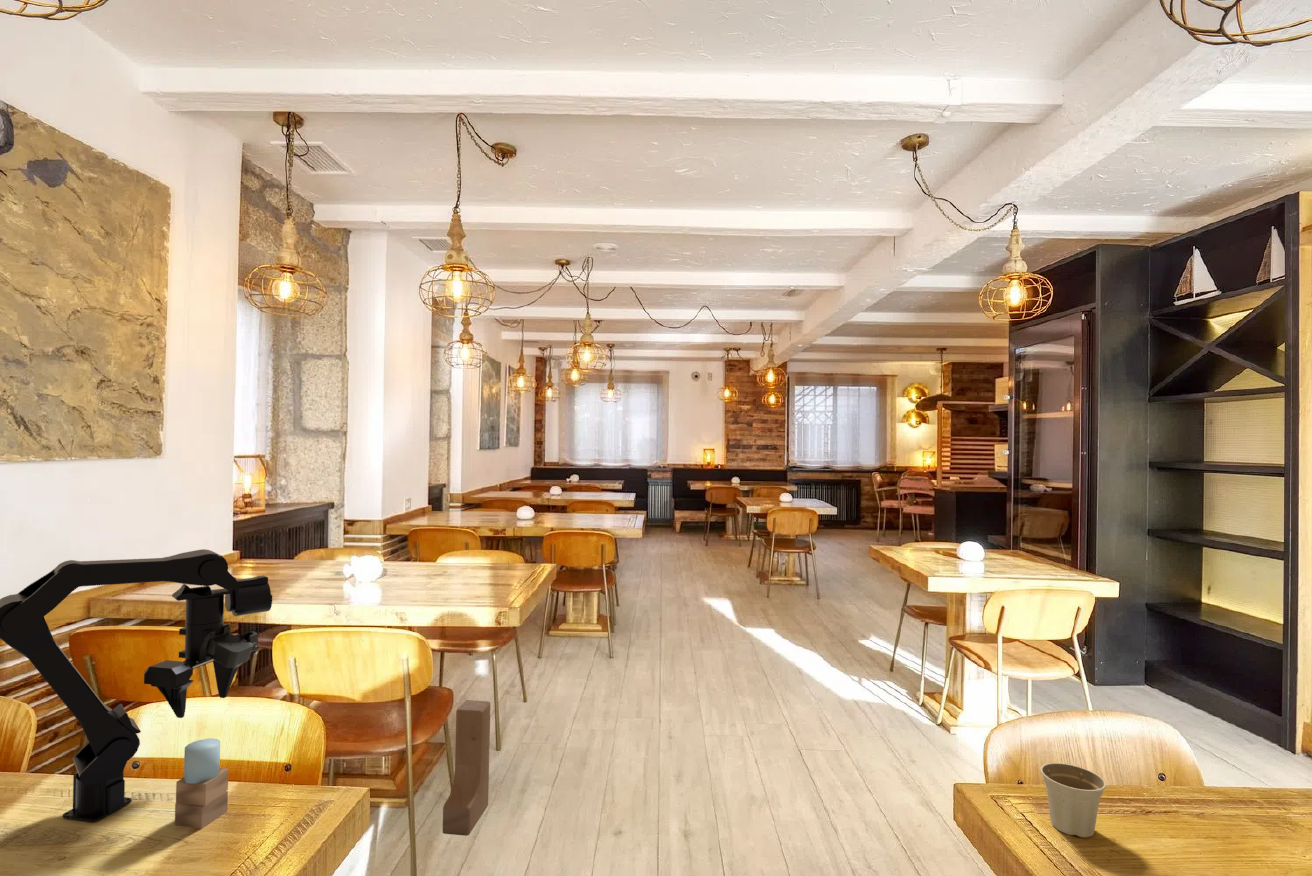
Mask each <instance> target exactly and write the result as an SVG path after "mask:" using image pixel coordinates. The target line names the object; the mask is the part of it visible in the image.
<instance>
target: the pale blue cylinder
mask: <svg viewBox="0 0 1312 876" xmlns="http://www.w3.org/2000/svg"><path fill="white" fill-rule="evenodd" d="M183 760H184V762H183V765H184V766H183V777H184V781H185V782H186V783H191V784H195V783H202V782H205V781H209V780H211V779H213V778H215V777H216V776H218V774H219V772H220V768H221V766H220V765H221V764H220V762H221V740H220V739H218V738H203V739H198V740H195V741H193V742H190V743H188V744H187V745H186V746H185V747H184V757H183Z"/></svg>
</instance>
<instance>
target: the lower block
mask: <svg viewBox="0 0 1312 876" xmlns="http://www.w3.org/2000/svg"><path fill="white" fill-rule="evenodd" d="M228 793H229V791H228V790H227V791H225V792H224V793H223V794H221V795H220V796H219V797H217V798H216V799H214V800H213V801H212V802H210V803H209V804H208V805H206V806H198V805H184V804H176V802H175V805H174V806H175V807H174V825H175V826H178V827H184V828H185V827H187V828H194V829H200V830H202V829H205V827H207V826H208V825H210V824H211V823H213V822H215V820H218V819H219V818H220V817H222V816H224V815H225V814H226V813H228V800H229V799H228V798H229V795H228Z"/></svg>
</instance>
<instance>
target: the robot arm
mask: <svg viewBox="0 0 1312 876" xmlns="http://www.w3.org/2000/svg"><path fill="white" fill-rule="evenodd" d="M228 564H229V563H228V561H227V559H226V558H225V557H223V556H222V555H221V554H218V553H217V552H215V551H213V550H210V549H205V548H203V549H197V550H192V551H191V550H190V551H185V552H181V553H177V554H174V555H170V556H165V557H155V558H154V557H153V558H130V559H129V558H128V559H107V560H106V559H105V560H101V559H99V560H82V561H81V560H76V559H75V560H73V559H70V560H64V561H63V562H60V563H59V564H57V566H56V567H54V568H53V569H52V570H50V571H49V572H47V574H45V575H43V576H41V577H40V578H38V579H36V580H35V581H34V582H32V583H30V584H29V585H27V586H26V587H25V588H23V589H21V590H20V591H19V592H18V593H15V594H9V595H6V596H4V597H2V598H0V640H1V641H3V642H4V643H5V644H6V645H8V646H9V647H10V648H12V649H13V650H15V651H16V652H18V653H19V654H21V655H22V656H24V657H25V658H27V659H28V660H29V662H30V663H31V665H33V666H34V668H35V669H36V670H37V671H38V672H39V674H40V675H41V677H43V679H44V680H45V681H46V683H47V684H48V685H49V686H50V687H51V689H52V690H53V691H54V693H55V694H56V695H57V697H59V699H60V700H61V702H62V703H63V704H64V705H65V706H66V707H67V709H68V710H69V712H71V714H72V715H73V716H74V718H75V719H76V720H77V722H79V724H80V726H81V727H82V730H83V732H84V734H85V735H84V736H85V737H86V738H87V741H88V742H87V743H86V744H85V745H84V746H83V747H82V748H81V749H80V750H79V751H78V752H77V753H76V754H75V755H73V757H72V761H73V763H74V766H75V769H76V771H77V772H76V773H74V774H73V777H72V778H73V779H72V780H73V781H72V808H71V809H70V810H68V811H66V812H64V813H63V814H62V818H64V819H70V820H76V821H85V822H90V823H91V822H92V823H96V822H98V821H100V820H102V819H103V818H106V817H107V816H109V815H110V814H112V813H114V812H116V811H117V810H119V809H121V808H123V807H125V806H126V805H128V804H130V803H132V801H133V799H132V797H127V796H126V795H125V794H126V793H125V789H126V788H125V787H126V783H125V779H124V773H125V772H124V771H125V768H126V765H127V763H128V761H130V760H131V759H132V758H133V757H134V756H135V755H136V754H137V751H138V750H139V746H140V745H141V741H140V738H139V736H138V734H141V732H142V731H141V729H140V728H139V726H138V725H137V723H136V721H135V719H134V718H131V717H130V716H129V714H128V712H127V711H126V709H125V708H124V706H123V704H122V703H119V704H118V705H117V706H115V707H114V708H113V709H112V708H111V707H109V706H108V705H107V704H105V703H104V702H103V701H102V700H101V699H100V697H99V696H98V695H97V694H96V692H95V691H94V689H93V688H92V687H91V685H90V684H89V683H88V682H87V681H86V679H85V678H84V677H83V675H82V674H81V673H80V672H79V670H78V669H77V668H76V666H75V665H74V664H73V663H72V661H71V660H70V659H69V657H68V655H66V653H65V652H64V650H63V649H62V648H61V647H60V645H58V643H57V642H56V641H55V639H54V636H53V635H52V632H51V630H50V628H49V626H48V623H47V621H46V619H45V616H46V615H48V614H49V613H51V612H52V611H53V610H54V609H55V608H57V606H59V604H61V603H62V602H63V601H64V600H65V599H66V598H67V597H68V596H69V595H70V594H72V593H73V592H74V591H76V589H78V588H79V587H90V586H91V587H94V586H95V587H96V586H110V585H111V586H112V585H123V584H141V583H157V582H158V583H159V582H166V583H167V582H168V583H175V584H181V587H180V588H179V589H177V590H175V592H173V593H172V594H171V597H172V598H174V599H175V600H176V601H177V602H180V601H185V620H184V622H185V623H184V626H185V627H182V628H179V629H178V630H179V631H178V634H179V636H181V635H182V636H184V650H181V651H178V658H179V659H184V660H182V661H179V660H168V659H166V660H163V661H160V662H158V663H155V664H153V665H149V666H148V667H147V668H146V669H145V670H144V672H143V673H144V674H143V684H144V685H150V686H151V687H153V688H154V687H155V688H157V689H158V690H159V692H160V693H161V694H162V696H163V697H164V698H165V700H166V702H167V703H168V705H169V706H170V708H171V710H172V711H173V713H174V715H175V717H176V718H178V719H183V718H184V717H185V712H186V706H187V693H188V691H187V690H188V688H189V687H190V686H191V685H192V684H193V682H194V680H193V679H191V678H192V676H193V675H194V670H195V669H197V668H200V667H203V666H204V665H207V664H210V663H212V664H213V669H214V675H215V681H216V682H215V683H216V688H217V693H218V695H219V698H220V699H225V698H226V697H227V696H228V694H229V691H230V689H231V686H232V683H233V681H234V678H235V676H236V673H237V671H238V669H239V667H240V666H241V665H242V664H245V663H247V662H249V660H250V658H251V655H253V654H255V653H256V651H257V650H258V642H259V639H258V632H255V631H254V630H248V631H247V632H243V633H242V634H240V633H238V634H235V635H234V634H232V632H231V626H230V624H229V623H224V610H225V611H226V612H228V613H229V612H231V613H232V615H233V616H234V617H239V616H245V615H251V614H252V615H253V614H258V613H259V614H260V613H264V612H265V613H266V612H269V611H270V610H271V608H272V605H273V594H272V591H271V586H270V584H269V577H268V576H266V575H257V576H254V577H246V578H240V579H239V578H238V579H237V578H236V577H234V575H232V573H230V571H228V570H229V565H228ZM189 585H190V586H191V585H192V586H198V587H189ZM214 585H216V586H218V587H220V588H217V589H212V588H211V586H214ZM224 607H225V609H224Z"/></svg>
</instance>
